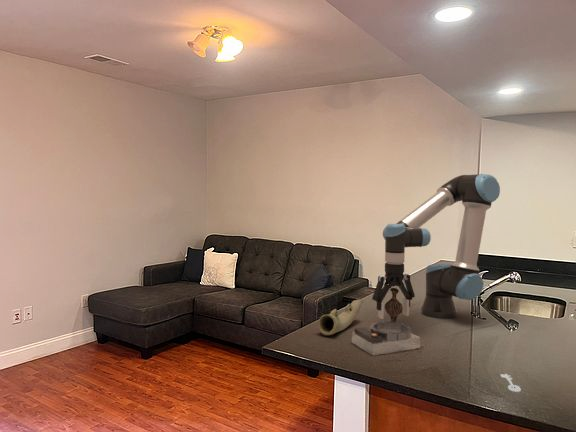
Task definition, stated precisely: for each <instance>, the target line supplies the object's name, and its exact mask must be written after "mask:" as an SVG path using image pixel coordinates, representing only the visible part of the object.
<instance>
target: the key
mask: <svg viewBox="0 0 576 432" xmlns="http://www.w3.org/2000/svg"><path fill="white" fill-rule="evenodd" d="M500 377H501V378H505V379H506V380H507V381H508V382H509V385H507V388H508V390H509V391H512V392H515V393H517V392H522V391H521V390H522V389H521V387H520V386H519V385H517V384H513V381H512V380H513V377H511V375H510V374H509V375H508V373H504V374H503V373H502V374H501V373H500ZM514 387H515V388H514Z"/></svg>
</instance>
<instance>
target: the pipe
mask: <svg viewBox="0 0 576 432" xmlns="http://www.w3.org/2000/svg"><path fill="white" fill-rule="evenodd" d="M363 301H364V300H362V299H355V300H352V302H351V303H347V305H346V306H345V309H344V311H342V312H341V313H340V314H339V313H338V310H337V309H336V308H334V309H333V310H331V311H330V313H328V314H323V315H321V316H319V318H318V322H317V327H318V330H319V331H320V333H321V334H322V335H324V336H332V335H334V334H336V333H339V332H341V331H343V330H345V329H346V328H348V327H349V326H350V325H351V324H352V323H353V322H354V321H355V319H356V317H357V315H358V314H359V312H360V309H361V307H362V304H363Z"/></svg>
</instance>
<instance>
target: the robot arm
mask: <svg viewBox="0 0 576 432" xmlns="http://www.w3.org/2000/svg"><path fill="white" fill-rule="evenodd" d="M500 194H501V186H500V184H499V182H498V180H497V177H495V176H493V175H491V174H484V173H480V174H462V175H458V176H456V177H453V178H451V179H450V180H448V181H447V182H445V183H444V184H443V185H440V186H439V187H438V188H437V189H436V192H435V193H434V194H433V195H432V196H430V197H429V198H428V199H426V200H425V201H424V202H423V203H421V204H419V206H417V207H416V208H415V209H413V210H411V212H410V213H408V214H406V215H405V216H404V217H403V218H402V219H400V220H399V221H398V222H397V223H389V224H387V225H386V226H385V227H384V229H383V230H382V237H383V239H384V240H385V243H384V247H385V250H384V253H385V254H384V262H385V263H384V272H385V274H384V276H381V275H379V276H378V277H377V283H376V286H375V289H374V292H373V295H372V298H371V300H373V301H375V302H376V310H377V318H378V319H381V320H384V314H385V313H384V310H385V303H384V302H383V300H384V299H385V297H386V295H387V294H388V292H389V291H390V289H391V288H393V287H395V286H396V287H398V288H399V291H401V293H402V295H403V296H404V297H403V299H402V300H403V301H402V302H403V303H402V314H403V315H404V316H407V317H409V315H410V307H411V301H412V300H413V298H415V297H416V296H415V295H416V294H415V292H414V289H413V286H412V282H411V275H410V274H408V273H404V272H405V264H404V263H405V251H406V250H405V248H416V247H417V248H419V247H420V248H422V247H426V246H428V245H429V244H430V243H431V240H432V239H431V237H432V235H431V232H430V231H429V230H428V229H427V228H425V227H424V228H423V227H422V226H423V225H425V224H427V222H428V221H430V220H431V219H432V218H433V217H435V216H436V215H437V214H439V213H440V212H442V211H443V210H444V209H445V208H446V207H448V206H449V207H451V206H452V205H454V204H456V203H458V202H461V204H462V205H463V207H464V212H463V218H462V222H461V226H460V227H461V228H460V232H459V233H460V234H459V240H458V245H457V250H456V256H455V261H454V262H453V263H436V264H434V263H433V264H429V265H427V266H426V272H425V296H424V297H425V298H424V300H423V303H422V306H421V309H420V310H421V314H423V315H425V316H427V317H431V318H437V319H451V318H455V317H456V316H457V309H456V306H455V303H454V299H453V297H455V298H459V299H460V300H466V301H471V300H475V299H476V298H477V297H478V296H480V294H481V293H482V292H483V291H482V290H483V289H484V280H483V278H482V276H481V275H480V268H479V267H478V265H477V263H478V259H479V252H480V248H481V244H482V243H481V242H482V237H483V230H484V224H485V219H486V213H487V211H488V210H489V209H490V208H491V207H492V203H494V202H495V201H497V199H498V198H499V197H500ZM421 227H422V228H421ZM403 281H404V282H403Z"/></svg>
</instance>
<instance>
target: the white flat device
mask: <svg viewBox="0 0 576 432" xmlns="http://www.w3.org/2000/svg"><path fill="white" fill-rule="evenodd" d="M351 343H352V344H353V345H355V346H357V347H358V348H359V349H361V350H363V351H364V352H366V353H368V354H369V355H371V356H372V357H374V356H380V354H381V355H385V354H391V353H392V354H393V353H399V352H405V350H406V351H410V350H411V349H412V350H417V348H418V349H420V348H421V336H419V335H416V334H414V333H412V329H411V326H409V325H407V324H404V323H403V322H401V323H400V322H397V321H396V322H391V321H383V320H382V321H376V322H372V323H371V324H369V329H368V328H366V327H365V326H364V327H363V326H362V327H356V328H354V331H352V332H351Z"/></svg>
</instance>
